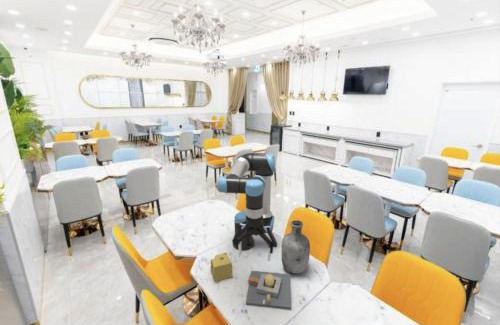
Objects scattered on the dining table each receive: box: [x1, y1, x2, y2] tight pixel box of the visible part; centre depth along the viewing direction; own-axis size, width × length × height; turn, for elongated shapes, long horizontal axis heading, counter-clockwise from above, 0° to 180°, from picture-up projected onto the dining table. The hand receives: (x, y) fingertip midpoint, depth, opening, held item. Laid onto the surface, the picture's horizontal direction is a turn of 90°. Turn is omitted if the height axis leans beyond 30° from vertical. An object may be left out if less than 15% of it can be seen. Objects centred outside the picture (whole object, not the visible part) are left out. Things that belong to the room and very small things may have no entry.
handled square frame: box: [247, 273, 282, 298], centre depth 123 cm, size 17×11×2 cm, turn 72°
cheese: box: [210, 252, 233, 282], centre depth 133 cm, size 10×11×10 cm
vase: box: [281, 219, 311, 274], centre depth 134 cm, size 16×16×30 cm
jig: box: [245, 270, 292, 311], centre depth 122 cm, size 22×22×8 cm
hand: (254, 257), depth 107 cm, fingers open, 13 cm apart
